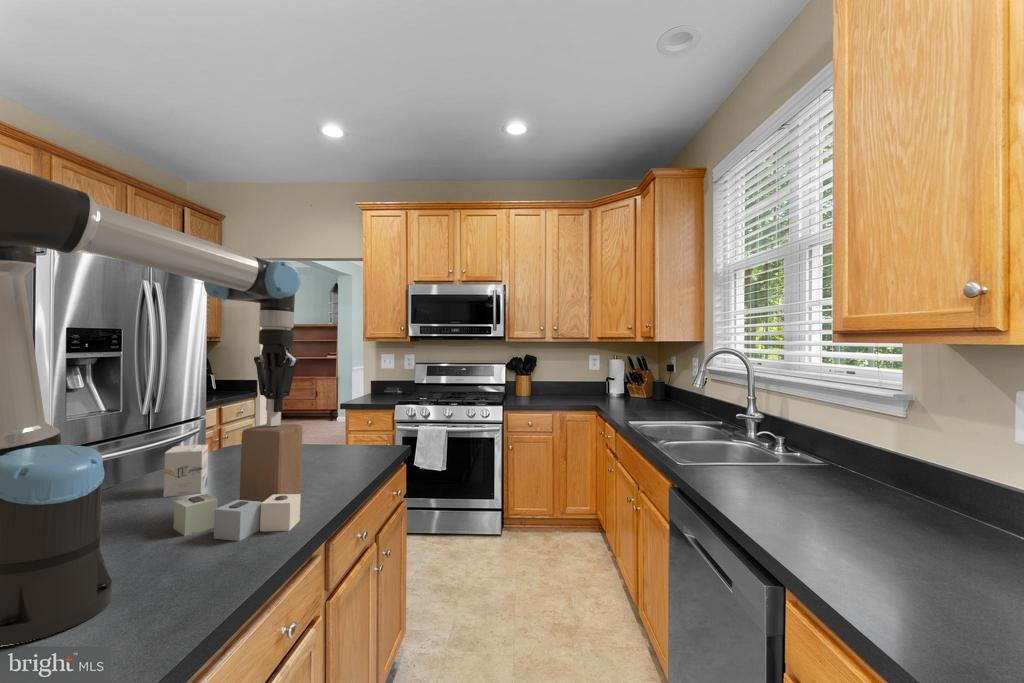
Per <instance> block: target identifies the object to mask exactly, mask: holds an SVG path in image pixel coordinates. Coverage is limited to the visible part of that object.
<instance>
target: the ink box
mask: <svg viewBox="0 0 1024 683" xmlns="http://www.w3.org/2000/svg"><path fill="white" fill-rule="evenodd" d="M208 468H209V444H208V443H207V444H190V445H178V446H173V447H171V448H169V449H168V450H166V451H165V452H164V475H163V476H164V477H163V494H162V495H163V498H166V497H169V498H170V497H178V496H189V495H199V494H200V495H202V493H203V491H204V490H205V488H206V487H207V485H208V475H209V474H208V470H209V469H208Z"/></svg>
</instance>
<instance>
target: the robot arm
mask: <svg viewBox="0 0 1024 683" xmlns="http://www.w3.org/2000/svg"><path fill="white" fill-rule="evenodd" d="M35 248H38V249H39V248H40V249H46V250H52V251H56V252H60V253H65V254H70V255H71V254H74V253H76V252H79V251H84V252H88V253H92V254H96V255H99V256H103V257H108V258H111V259H115V260H119V261H123V262H127V263H130V264H135V265H139V266H143V267H147V268H151V269H155V270H159V271H162V272H167V273H170V274H173V275H178V276H181V277H186V278H191V279H195V280H197V281H201V282H203V287H204V290H205V293H206V294H207V295H208V296H209V297H211V298H215V299H220V300H223V301H226V300H228V301H236V302H237V301H238V302H251V303H256V304H257V303H258V304H259V323H258V326H259V327H260V328H261V329H260V330H259V331H258V344H259V345H261V346H262V348H261V354H260V355H259V356H254V357H253V362H254V364H255V367H256V375H257V383H258V389H259V395H260V396H264V398H265V399H266V407H265V410H266V424H267V426H276V425H281V424H282V422H281V421H282V411H283V400H284V398H286V397H289V396H290V394H291V391H292V390H291V389H292V384H293V380H294V375H295V370H296V366H297V365H298V363H299V358H298V357H294V356H293V355H292V352H291V348H290V347H291V346H293V344H294V337H295V336H294V334H295V333H294V331H293V330H291V329H294V327H295V326H294V323H295V320H294V319H295V304H296V303H295V297H296V293H297V292H298V290H299V289H300V286H301V274H300V273H299V271H298V269H297V268H296V266H294V265H293V264H292V263H290V262H289V261H288V262H287V261H283V260H282V261H281V260H274V261H270V260H267V259H266V260H265V259H262V258H260V257H256V256H253V255H250V254H247V253H245V252H241V251H238V250H237V249H232V248H229V247H227V246H223V245H220V244H218V243H215V242H211V241H209V240H206V239H202V238H200V237H197V236H194V235H190V234H188V233H185V232H182V231H178V230H176V229H172V228H170V227H168V226H167V227H166V226H164V225H161V224H158V223H155V222H152V221H149V220H146V219H144V218H140V217H138V216H135V215H131V214H128V213H125V212H122V211H119V210H117V209H113V208H110V207H108V206H104V205H102V204H99V203H96V201H95V200H94V198H92V196H91V195H90V194H89V193H88V192H87V193H86V192H84V191H82V190H80V189H79V190H78V189H75V188H73V187H70V186H66V185H65V184H61V183H58V182H56V181H52V180H49V179H47V178H44V177H40V176H38V175H35V174H32V173H30V172H26V171H23V170H20V169H17V168H13V167H10V166H6V165H1V164H0V646H1V645H9V644H17V643H21V642H26V641H30V640H34V639H38V638H41V639H44V638H47V637H50V636H53V635H55V633H56V634H58V633H57V632H59V633H61V632H63V630H64V631H66V630H68V628H69V629H71V628H73V627H75V626H78V625H80V624H82V623H83V622H86V621H87V620H90V619H91V618H94V617H95V616H96V615H98V614H99V613H101V612H102V611H103V610H104V609H105V608H107V606H109V605H110V603H112V600H113V598H114V580H113V578H112V575H111V572H110V570H109V567H108V566H107V564H106V561H105V558H104V556H103V554H102V552H101V529H102V528H101V527H102V512H103V511H102V510H103V507H102V506H103V489H104V488H103V487H104V480H105V474H106V472H105V468H104V464H103V463H104V461H103V456H102V454H101V453H100V452H99V451H98V450H96V449H94V448H91V447H88V446H83V445H70V444H63V443H62V436H61V431H60V429H59V428H57V427H56V426H53V425H51V424H49V423H48V422H47V421H46V419H45V417H46V416H45V412H44V405H43V399H42V398H43V397H42V392H41V384H40V378H39V371H38V365H37V364H38V363H37V356H36V351H35V344H34V337H33V329H32V323H31V317H30V310H29V302H28V297H27V296H28V295H27V289H26V282H25V276H26V274H28V273H29V272H30V271H32V270H33V269H35V267H37V264H36V257H35V251H34V249H35ZM60 631H61V632H60ZM52 634H53V635H52ZM43 637H44V638H43ZM38 640H39V639H38ZM34 641H35V640H34Z"/></svg>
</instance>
